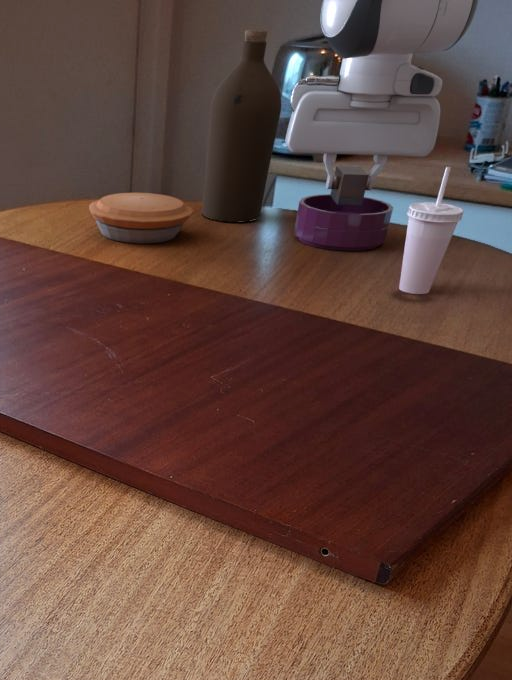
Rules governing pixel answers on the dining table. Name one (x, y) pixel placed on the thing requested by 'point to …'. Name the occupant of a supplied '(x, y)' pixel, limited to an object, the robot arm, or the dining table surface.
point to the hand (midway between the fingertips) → (348, 189)
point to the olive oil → (241, 136)
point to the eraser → (350, 186)
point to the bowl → (342, 223)
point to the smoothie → (427, 241)
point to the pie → (140, 217)
